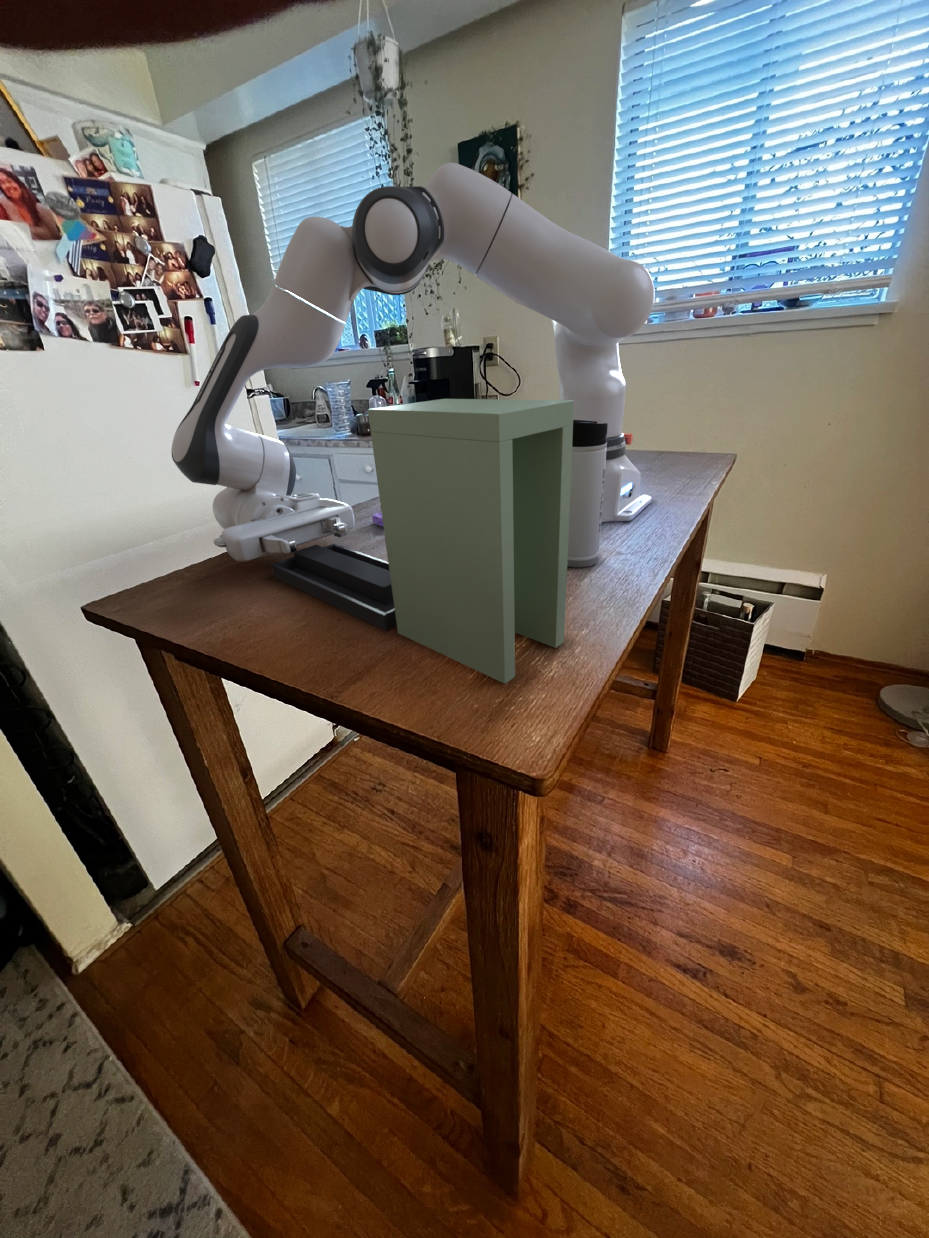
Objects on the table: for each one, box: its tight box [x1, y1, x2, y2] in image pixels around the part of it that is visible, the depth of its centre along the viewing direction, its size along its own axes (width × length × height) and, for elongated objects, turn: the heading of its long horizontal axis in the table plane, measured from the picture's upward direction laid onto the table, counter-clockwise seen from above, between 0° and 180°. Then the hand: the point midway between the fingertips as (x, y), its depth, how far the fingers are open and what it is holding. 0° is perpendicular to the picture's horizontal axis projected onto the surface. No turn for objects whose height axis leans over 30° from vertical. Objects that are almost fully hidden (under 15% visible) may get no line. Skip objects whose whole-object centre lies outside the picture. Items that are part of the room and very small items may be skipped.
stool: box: [367, 398, 574, 685], centre depth 50 cm, size 10×16×24 cm, turn 46°
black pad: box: [292, 544, 394, 605], centre depth 71 cm, size 4×22×2 cm, turn 46°
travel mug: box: [567, 420, 608, 569], centre depth 70 cm, size 6×7×20 cm
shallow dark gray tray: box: [270, 543, 397, 632], centre depth 70 cm, size 11×27×2 cm, turn 46°
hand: (318, 538), depth 73 cm, fingers open, 7 cm apart
